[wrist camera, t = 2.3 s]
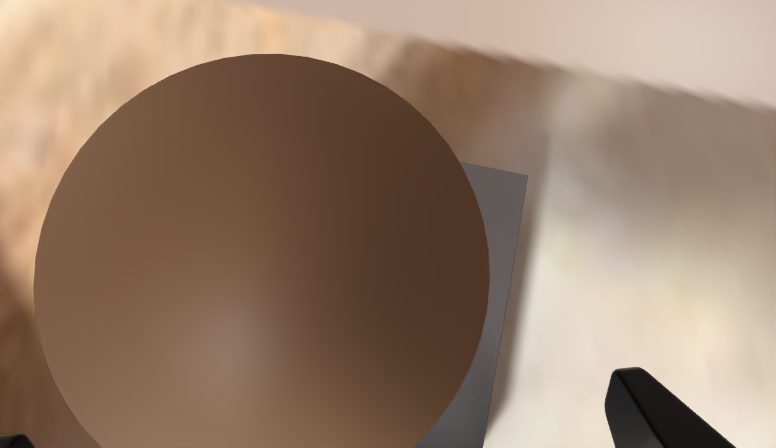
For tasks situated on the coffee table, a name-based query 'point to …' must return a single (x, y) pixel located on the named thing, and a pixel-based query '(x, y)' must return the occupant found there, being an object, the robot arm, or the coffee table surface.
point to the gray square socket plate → (501, 221)
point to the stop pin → (262, 264)
